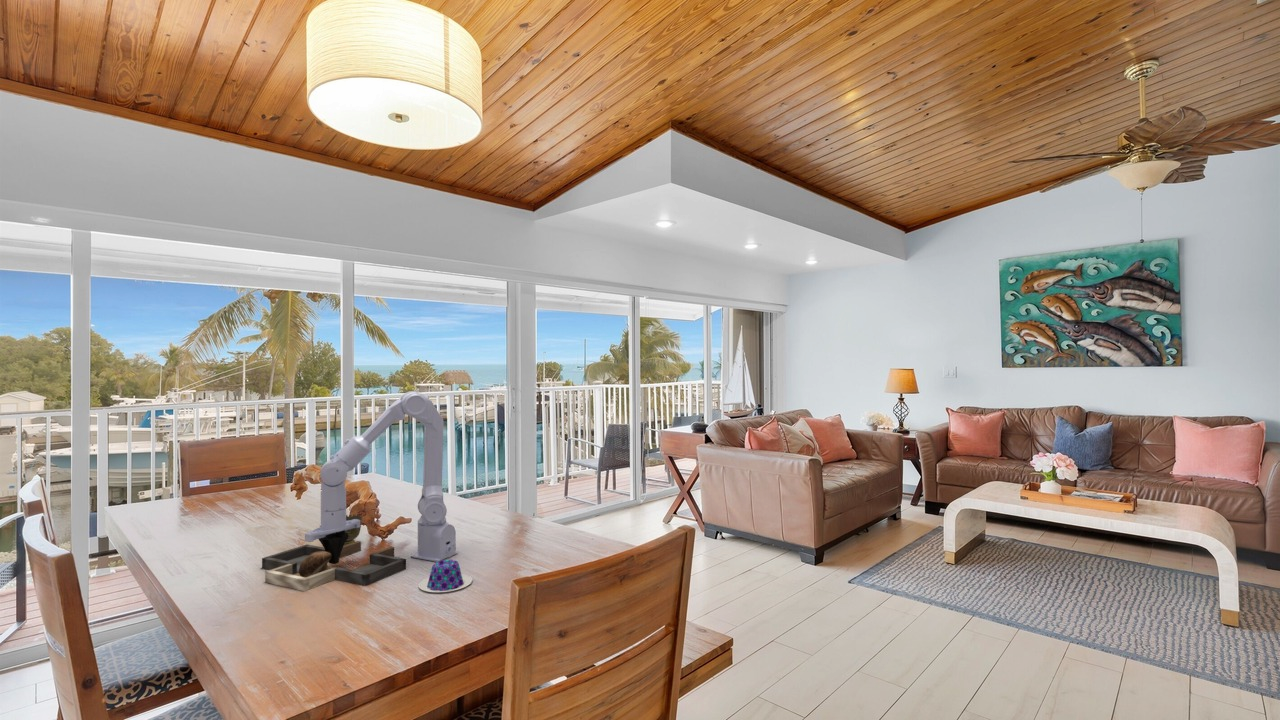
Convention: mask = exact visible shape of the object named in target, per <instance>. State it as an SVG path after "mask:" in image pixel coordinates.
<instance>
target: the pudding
mask: <svg viewBox="0 0 1280 720" xmlns="http://www.w3.org/2000/svg"><path fill="white" fill-rule="evenodd" d="M460 567H461V566H460V564H459V562H458V561H457V560H453V559H443V560H440V561H438V562H436V561H435V562H434V564H432V567H431V570H430V574H429V576H428V577H426V578H424V579H423V580H421V581H420V582H419V583H418V585H417V586H418V588H419V589H420V590H422V591H424V592H429V593H449V592H454V591H457V590H460V589H463V588H466V587H467V586H469V585H470V584H472V582H473V578H472V576H471V575H469V574H468V575H467V574H465V573H464V574H463V573H462V570H461V568H460Z"/></svg>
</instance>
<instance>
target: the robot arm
mask: <svg viewBox="0 0 1280 720" xmlns="http://www.w3.org/2000/svg"><path fill="white" fill-rule="evenodd" d="M405 415H407V416H408V417H411V418H413V419H415V420H417V421H418V423H420V424H422V426H424V441H423V442H424V443H423V447H424V448H423V451H424V452H423V477H422V478H423V479H422V480H423V481H422V489H421V495H420V498H419V500H418V502H417V510H418V512H419V513H420V514H421V516H420V518H419V519H418V520H417V552H415V553H413V554H410V556H409V557H410V558H415V559H420V560H424V561H431V562H435V563H436V562H438V561H442V560H446V559H447V558H450V557H452V556H455V555H457V554H458V551H457V550H456V549H457V548H456V543H457V540H456V539H457V537H456V528H455V526H454V525H452V524H450V523H449V522H447V518H446V515H447V514H448V512H447V506H446V504H445V502H444V492H443V465H444V464H443V459H444V458H443V457H444V456H443V455H444V428H445V427H444V423H445V422H444V418H443V417H442V415H441V413H440V412H439V410H438V409H437V408H436V405H434V403H433V401H432V400H431V399H429V398H428V397H427V396H425V395H424V394H422V393H419V392H418V391H414V390H412V391H411V390H409V391H407V392H405V393H404V394H402V396H401V397H400V398H398V399H396V400H395V401H394V402H392V404H390V405H389V406H388V407H387V408H386V409H385V410H384V411H383V412H382V414H380V415H379V416H378V417H377V418H376V419H375V420H374V422H373V423H372V424H371V425H370V426H369V427H368V428H367V429H366V430H365V431H364V432H363V433H362V434H361V435H358V436H357V435H356V436H352V437H351V438H350V439H349V438H347V439H346V440H344V441H343V443H344V445H343V446H342V447H340V449H339V450H338V451H337V452H336V453H334V454H331V455H330V456H329V459H330V460H328V461H325V463H324V464H323V465H322V466H321V468H320V469H321V470H320V471H319V472H320V473H319V474H320V476H319V477H320V479H321V484H320V488H321V491H320V525H319V527H317V528H315V529H313V530H311V531H309V532H308V531H307V532H305V533H304V542H307V543H312V542H315V541H317V540H318V541H319V542H320V544H321V545H322V547H324V549H325V551H326V552H329V553H331V555H332V557H331V559H330V560H329V562H328V564H332V565H336V564H339V562H340V559H341V558H340V555H341V551H342V548H343V546H344V544H345V542H346V540H347V539H348V537H349V533H345V531H346V530H349V529H353V528H359V527H360V520H358V519H353V520H348V521H346V515H347V489H346V479H347V477H348V472H351V471H352V470H354V469H355V468H356V467H357V466H358V465H359V464H360V462H361V461H363V460H364V459H365V458H366V457H367V456H368V455H369V454H370V453H371V452H372V451H371V449H372V448H371V447H372V446H371V444H373V442H374V441H376V439H378V438H379V437H380V436H381V435H382V434H383V433H384V432H386V430H387V429H389V427H391V426H392V425H393V423H396V422H399V421H402V420H406V419H407V417H406V416H405Z"/></svg>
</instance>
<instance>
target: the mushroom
mask: <svg viewBox="0 0 1280 720" xmlns="http://www.w3.org/2000/svg"><path fill="white" fill-rule="evenodd" d="M331 557H332V555H331V553H329V552H326V551H317V552H314V553H312V554H311V555H309V556H308V557H307V558H305V559H304V560H303V561H302V563H301V565H300V567H299V576H300V577H305V578H306V577H309V576H311V575H314V574H317V573H320V572H322V571H325V570H328V569H331V568H332V567H331V566H329V565H328V563H329V562H328V561H329V560H330V559H331Z"/></svg>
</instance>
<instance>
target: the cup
mask: <svg viewBox="0 0 1280 720" xmlns="http://www.w3.org/2000/svg"><path fill="white" fill-rule="evenodd" d="M353 519H358V520H360V527H359V528H353V529H349V530H346V531H345V533H349V537H348V539H347V540H346V542H345V544H344V545H347V544H350V543H353V542H356V541H355V539H357V538H358V537H359V535H360V533H361V527H362V519H363V515H362V514H360V515H359V513H357V514H356V513H354V514H353V515H352V513H350V514H348V515H347V514H346V521H348V520H353Z"/></svg>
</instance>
